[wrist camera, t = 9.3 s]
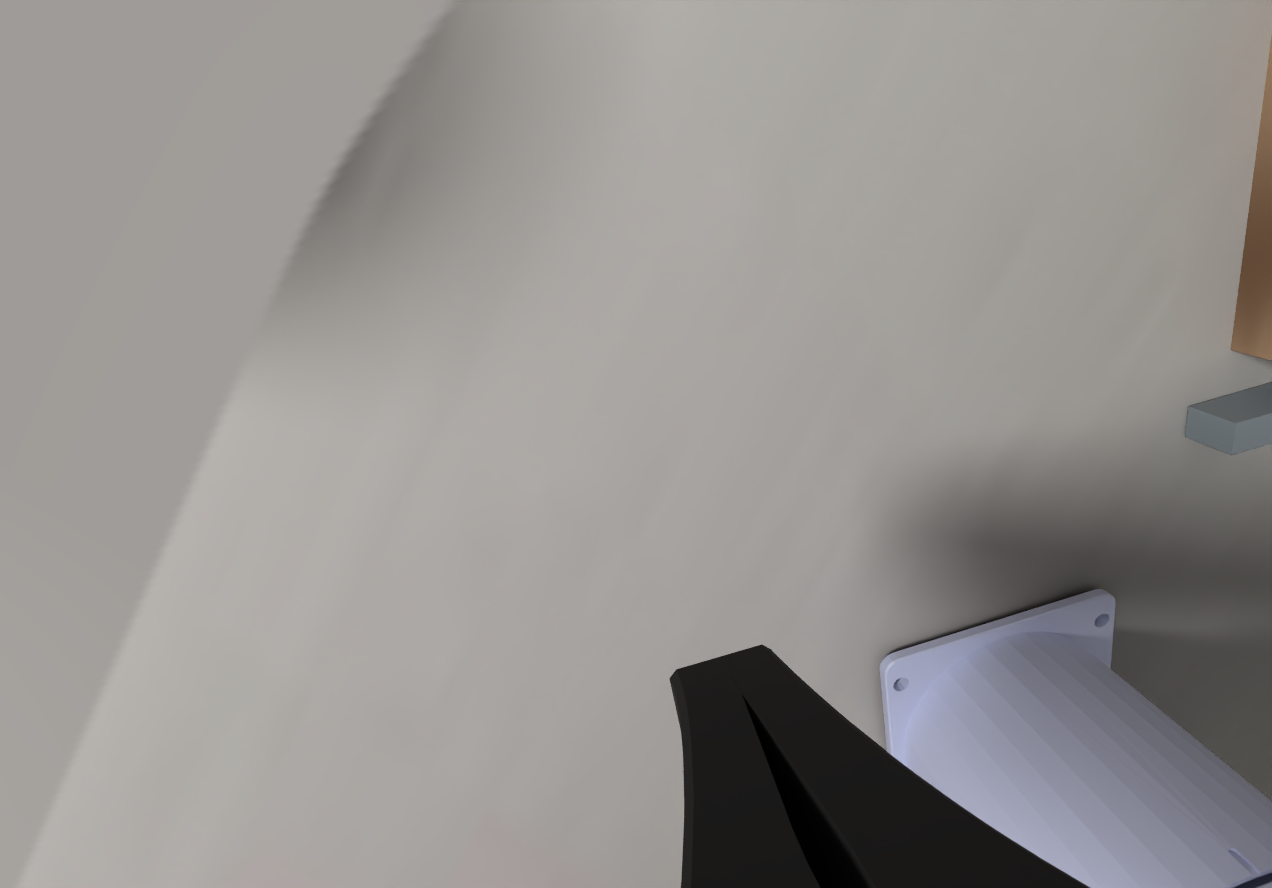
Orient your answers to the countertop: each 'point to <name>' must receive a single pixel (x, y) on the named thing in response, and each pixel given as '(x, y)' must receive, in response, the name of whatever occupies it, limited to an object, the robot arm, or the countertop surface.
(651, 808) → the countertop surface
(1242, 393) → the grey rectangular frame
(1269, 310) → the t block
